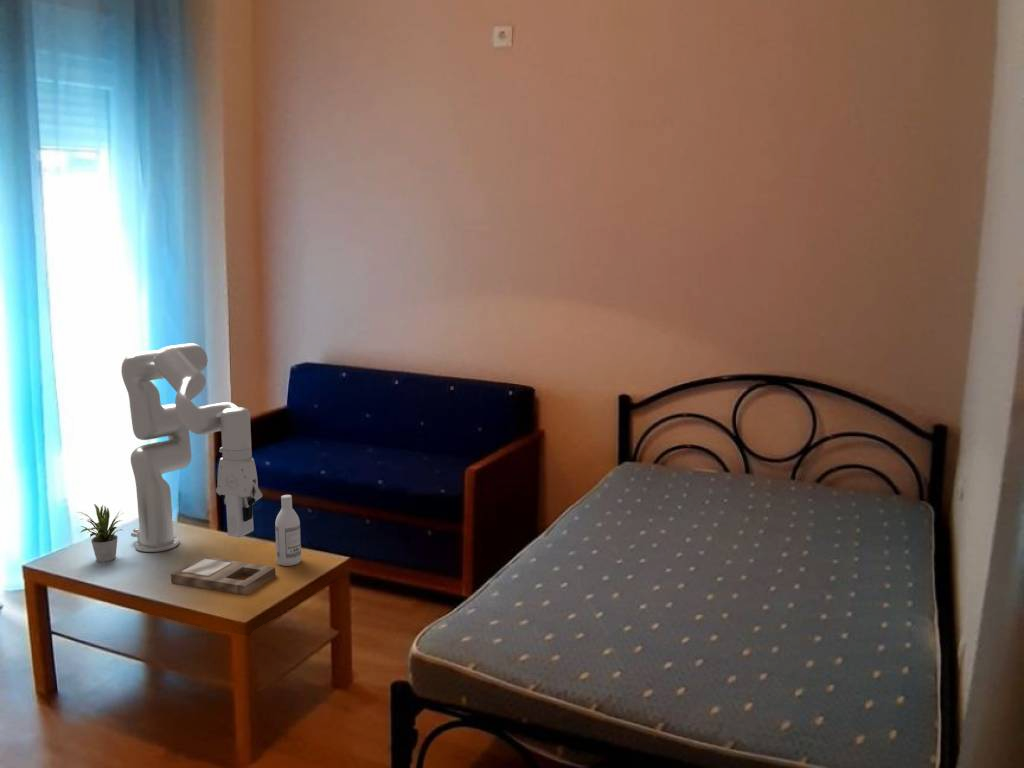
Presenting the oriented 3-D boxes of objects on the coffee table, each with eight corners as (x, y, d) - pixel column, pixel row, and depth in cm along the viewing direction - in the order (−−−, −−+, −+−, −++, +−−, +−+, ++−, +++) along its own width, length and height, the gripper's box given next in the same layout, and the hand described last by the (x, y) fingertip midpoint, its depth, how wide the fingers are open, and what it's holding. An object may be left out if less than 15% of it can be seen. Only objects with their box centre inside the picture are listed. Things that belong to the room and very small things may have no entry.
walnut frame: (171, 582, 254) (170, 573, 253) (203, 564, 267) (203, 555, 266) (245, 595, 246) (245, 585, 246) (275, 575, 259) (275, 566, 259)
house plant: (68, 557, 271) (63, 504, 268) (116, 545, 281) (111, 494, 278) (87, 571, 262) (83, 515, 259) (136, 558, 271) (132, 504, 268)
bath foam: (306, 559, 271) (303, 493, 267) (293, 568, 265) (290, 500, 261) (285, 556, 273) (282, 491, 270) (272, 564, 267) (269, 498, 263)
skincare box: (241, 528, 256) (239, 487, 253) (254, 531, 254) (252, 489, 252) (226, 535, 250) (224, 493, 248) (239, 538, 248) (237, 495, 246)
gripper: (201, 453, 247) (205, 519, 250) (255, 460, 241) (258, 527, 245) (219, 447, 254) (222, 510, 257) (272, 453, 248) (274, 518, 252)
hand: (239, 518), depth 251 cm, fingers closed on skincare box, 4 cm apart
